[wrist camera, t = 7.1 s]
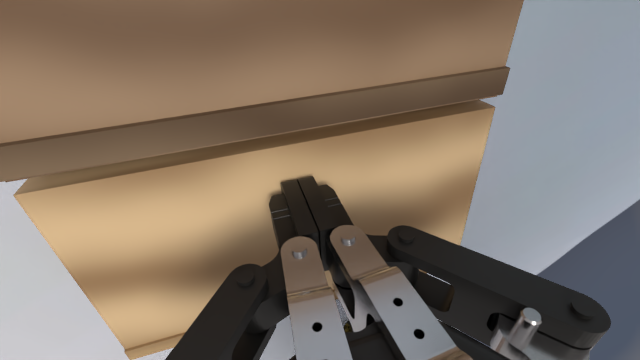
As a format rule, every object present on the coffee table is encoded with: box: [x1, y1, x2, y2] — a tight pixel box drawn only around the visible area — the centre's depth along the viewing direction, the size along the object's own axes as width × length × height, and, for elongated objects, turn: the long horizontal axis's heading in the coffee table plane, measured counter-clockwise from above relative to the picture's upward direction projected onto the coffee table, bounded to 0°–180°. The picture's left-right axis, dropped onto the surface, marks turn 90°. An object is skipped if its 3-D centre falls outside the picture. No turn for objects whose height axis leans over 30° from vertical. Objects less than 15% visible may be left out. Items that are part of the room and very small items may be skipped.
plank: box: [13, 100, 495, 360], centre depth 17 cm, size 11×20×3 cm, turn 93°
